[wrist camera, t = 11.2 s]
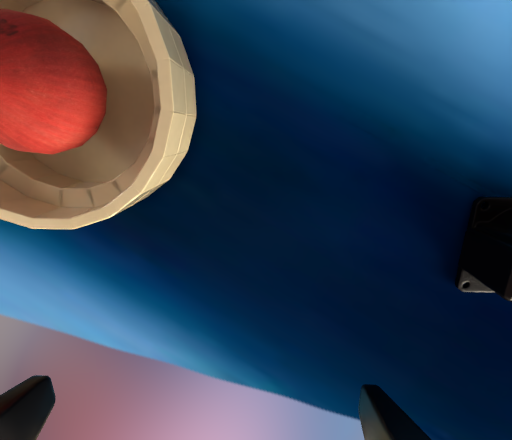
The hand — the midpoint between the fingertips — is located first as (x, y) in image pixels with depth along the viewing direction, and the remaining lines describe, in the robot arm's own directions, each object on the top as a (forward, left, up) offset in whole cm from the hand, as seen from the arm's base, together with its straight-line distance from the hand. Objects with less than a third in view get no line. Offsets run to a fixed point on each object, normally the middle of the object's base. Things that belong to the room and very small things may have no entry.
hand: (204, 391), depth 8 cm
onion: (+9, -9, -12) cm, 17 cm away
